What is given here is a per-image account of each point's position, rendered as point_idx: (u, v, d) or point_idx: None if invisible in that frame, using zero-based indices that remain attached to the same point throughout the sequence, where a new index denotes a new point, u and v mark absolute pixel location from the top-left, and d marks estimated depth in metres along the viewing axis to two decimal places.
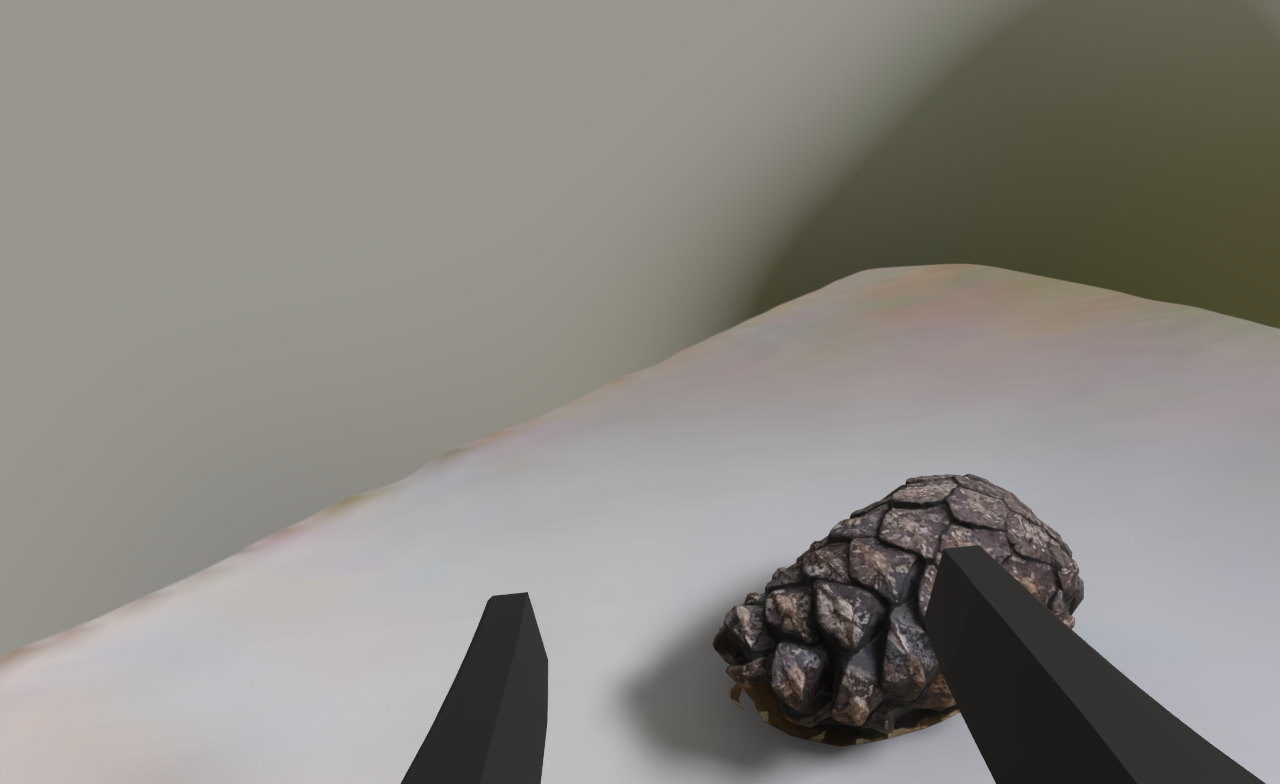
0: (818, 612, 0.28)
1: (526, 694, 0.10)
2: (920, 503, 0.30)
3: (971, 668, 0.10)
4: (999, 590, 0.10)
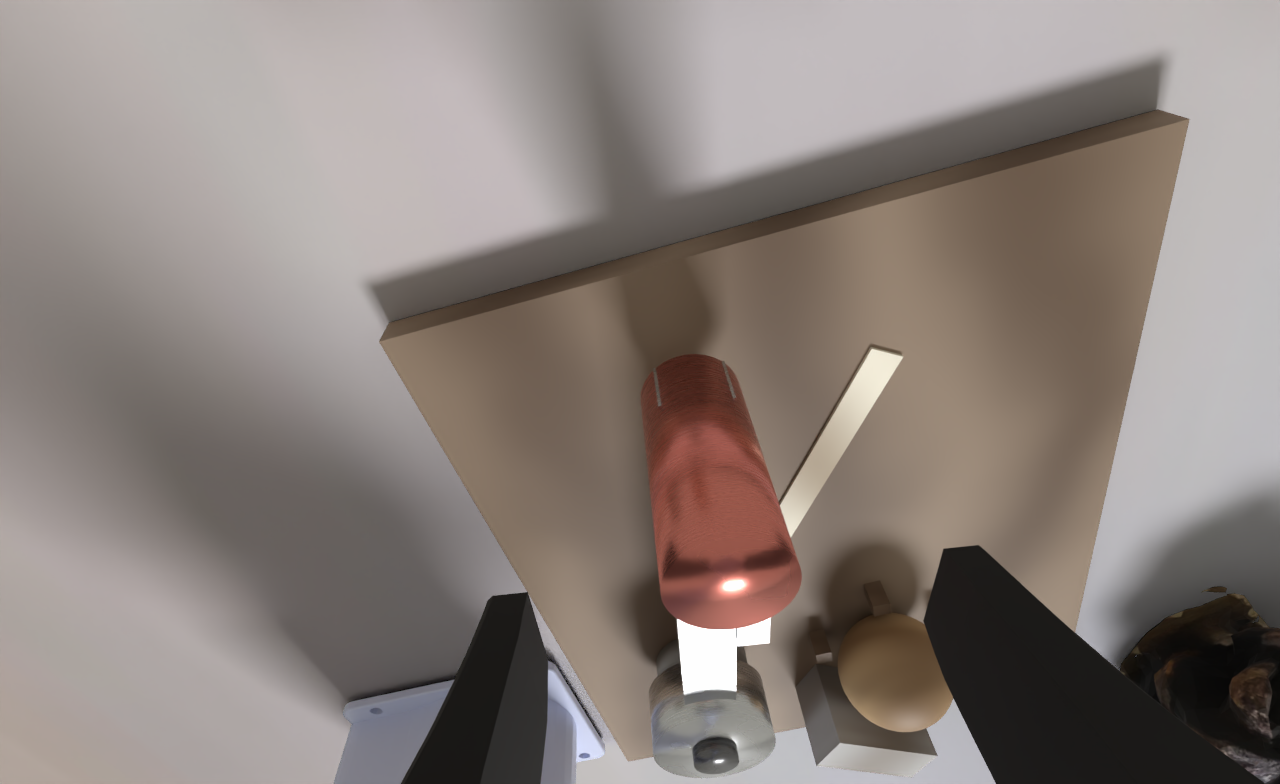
0: None
1: (525, 694, 0.10)
2: None
3: (971, 669, 0.10)
4: (999, 590, 0.10)
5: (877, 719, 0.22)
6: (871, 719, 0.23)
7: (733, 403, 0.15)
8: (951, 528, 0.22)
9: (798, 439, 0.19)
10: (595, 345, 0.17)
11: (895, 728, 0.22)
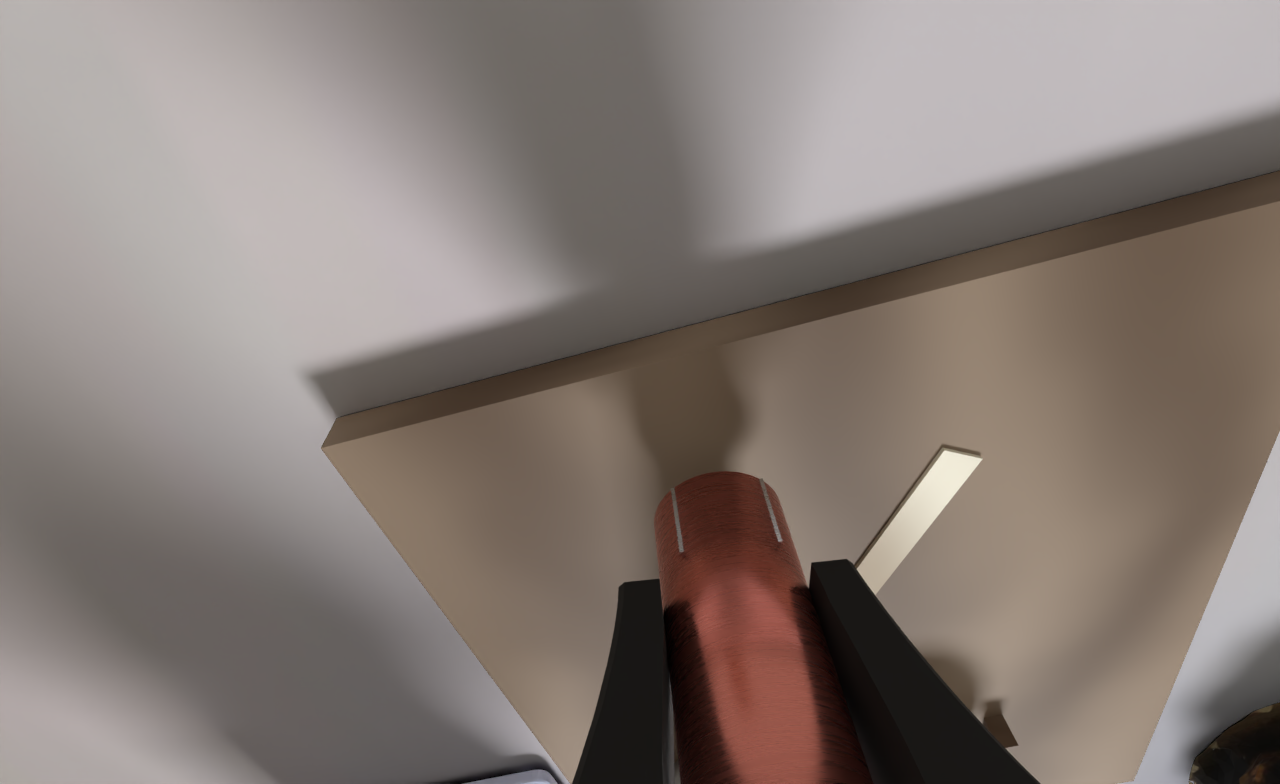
0: None
1: (668, 679, 0.10)
2: None
3: None
4: (852, 605, 0.10)
5: None
6: None
7: (779, 550, 0.11)
8: (1021, 638, 0.19)
9: (845, 549, 0.16)
10: (596, 449, 0.14)
11: None
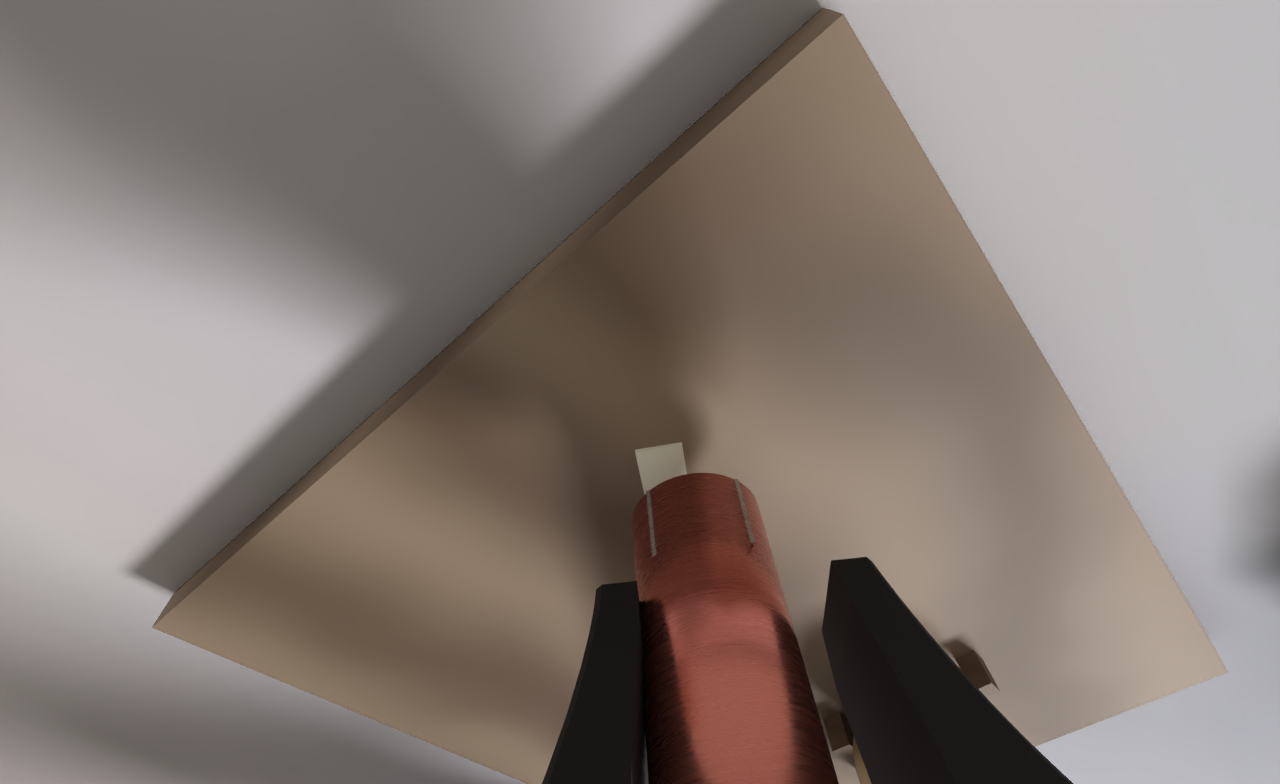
0: None
1: None
2: None
3: (853, 682, 0.10)
4: (874, 603, 0.10)
5: None
6: None
7: (751, 551, 0.11)
8: (915, 578, 0.17)
9: None
10: (340, 559, 0.15)
11: None
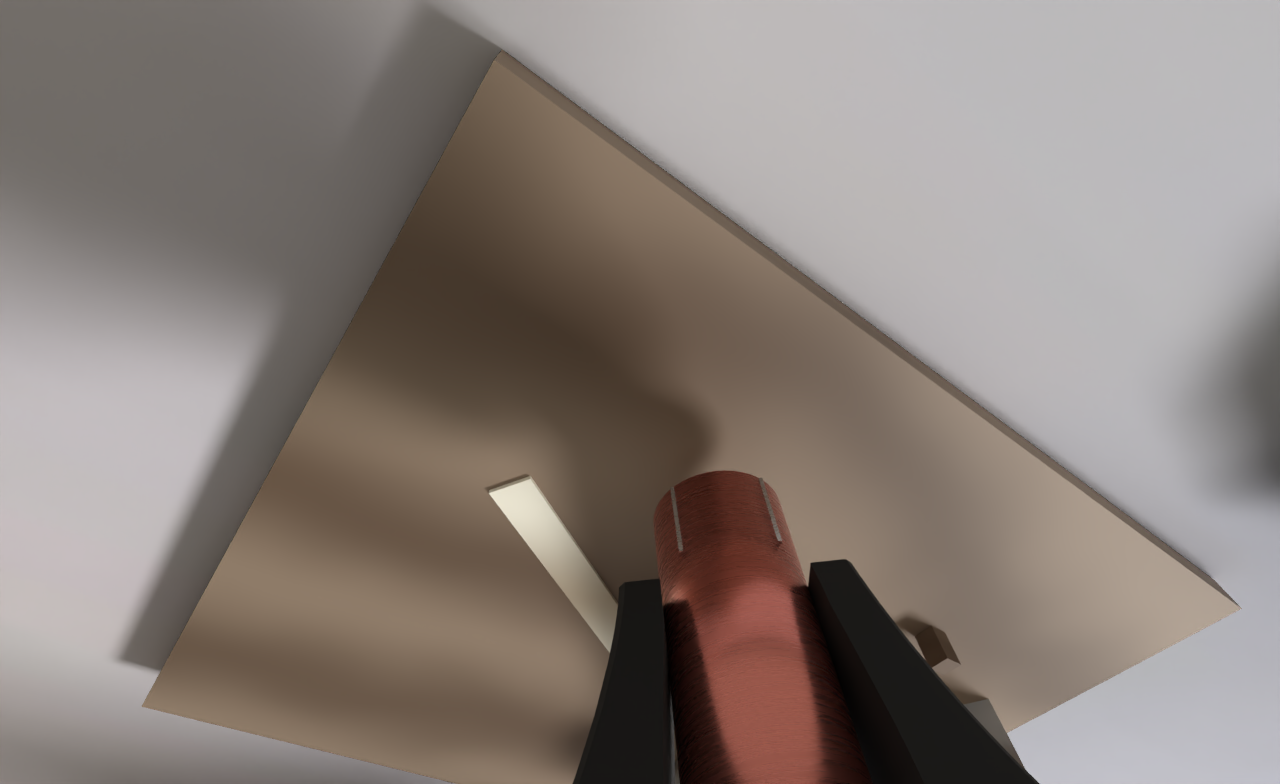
0: None
1: (668, 679, 0.10)
2: None
3: None
4: (851, 605, 0.10)
5: None
6: None
7: (779, 549, 0.11)
8: None
9: (540, 590, 0.16)
10: (270, 627, 0.16)
11: None
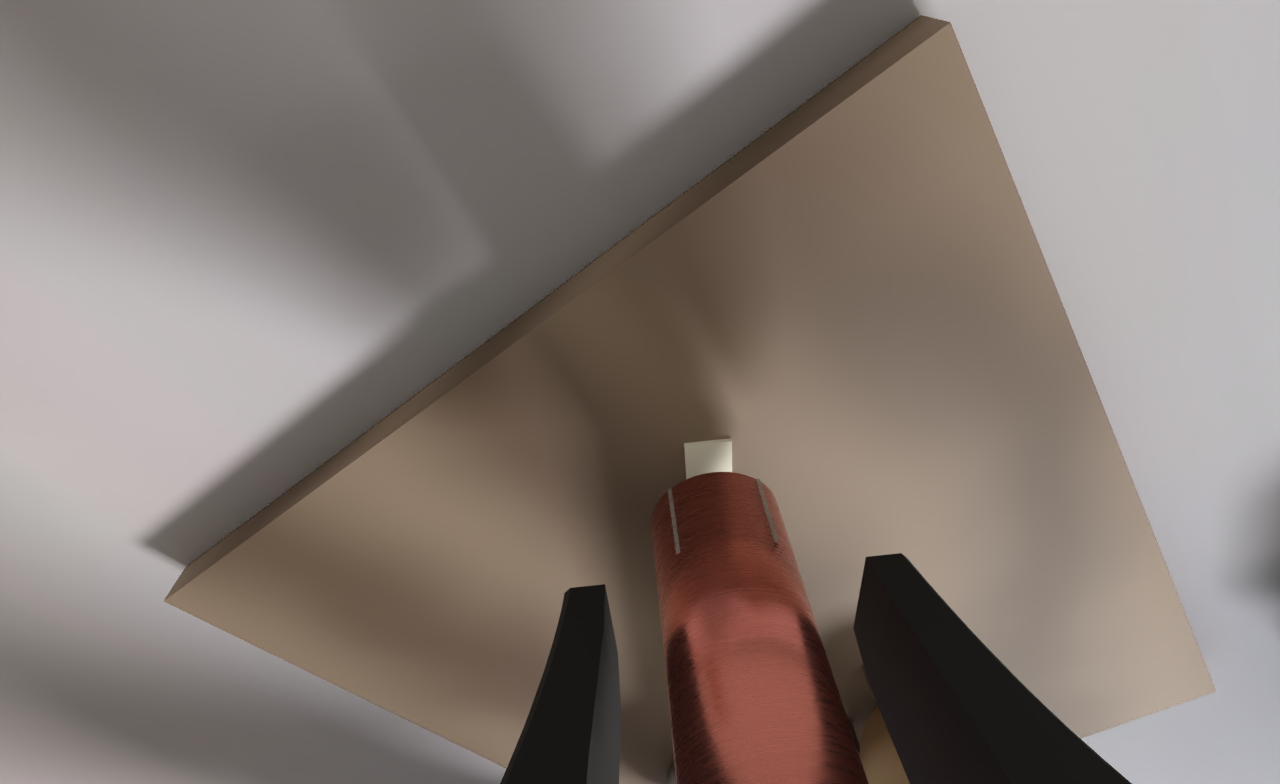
0: None
1: (609, 685, 0.10)
2: None
3: (890, 677, 0.10)
4: (913, 599, 0.10)
5: None
6: None
7: (776, 551, 0.11)
8: (937, 586, 0.17)
9: None
10: (370, 540, 0.15)
11: None
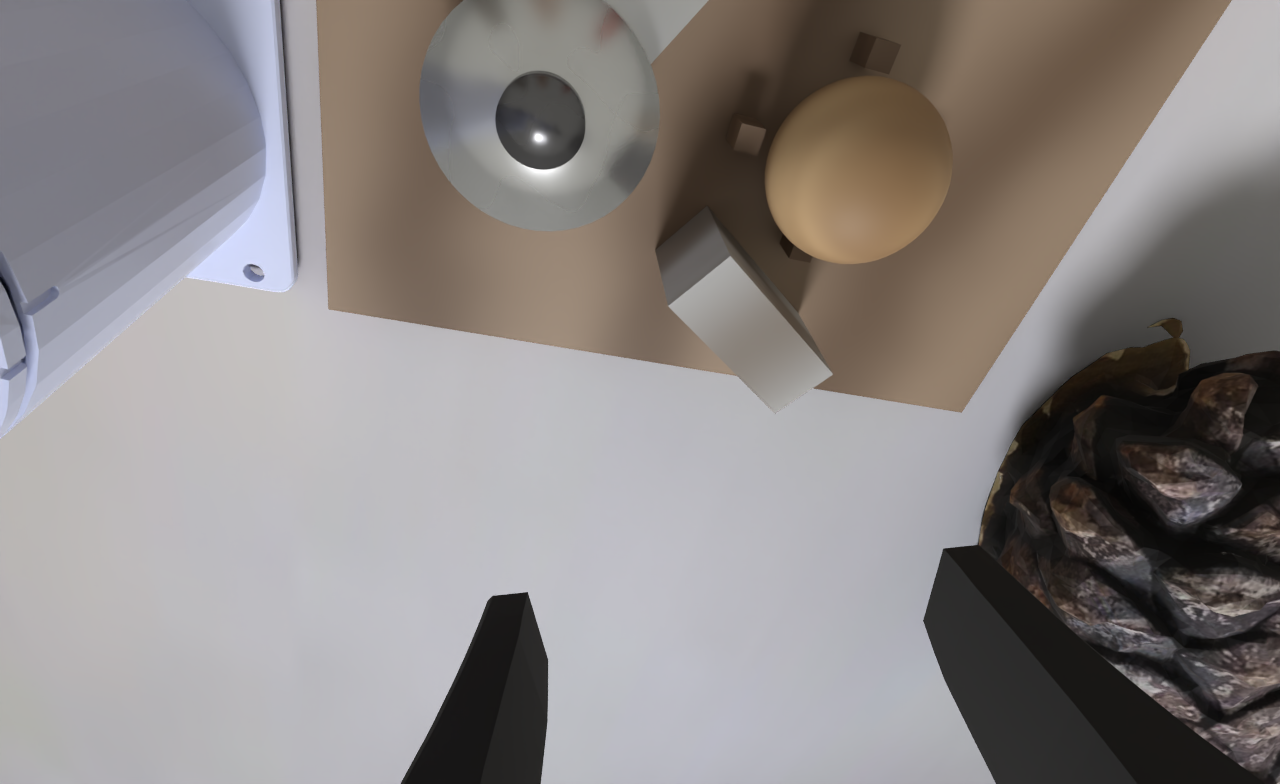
0: (1255, 575, 0.17)
1: (526, 694, 0.10)
2: None
3: (971, 669, 0.10)
4: (999, 590, 0.10)
5: (828, 184, 0.13)
6: (813, 192, 0.13)
7: None
8: None
9: None
10: None
11: (849, 208, 0.13)
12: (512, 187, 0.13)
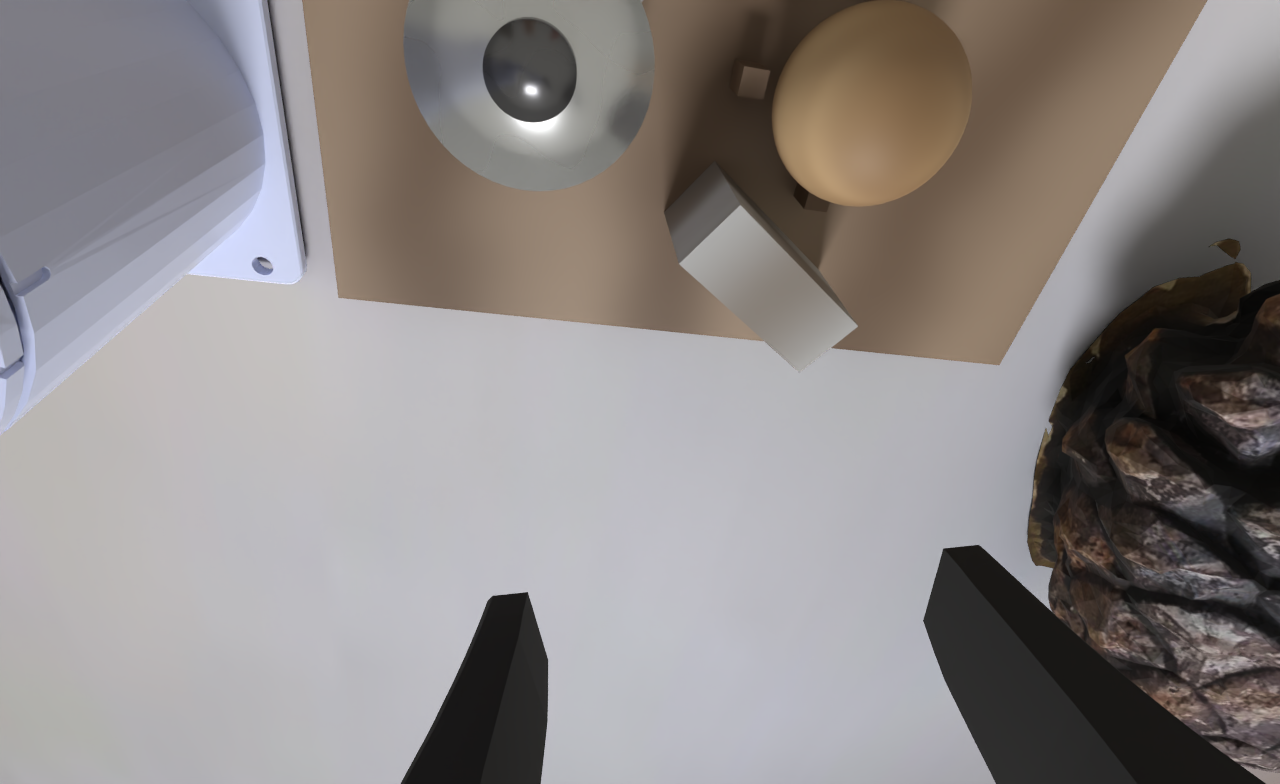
0: None
1: (525, 694, 0.10)
2: None
3: (971, 669, 0.10)
4: (999, 590, 0.10)
5: (839, 117, 0.12)
6: (823, 128, 0.12)
7: None
8: None
9: None
10: None
11: (862, 141, 0.12)
12: (507, 146, 0.12)
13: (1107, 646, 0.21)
